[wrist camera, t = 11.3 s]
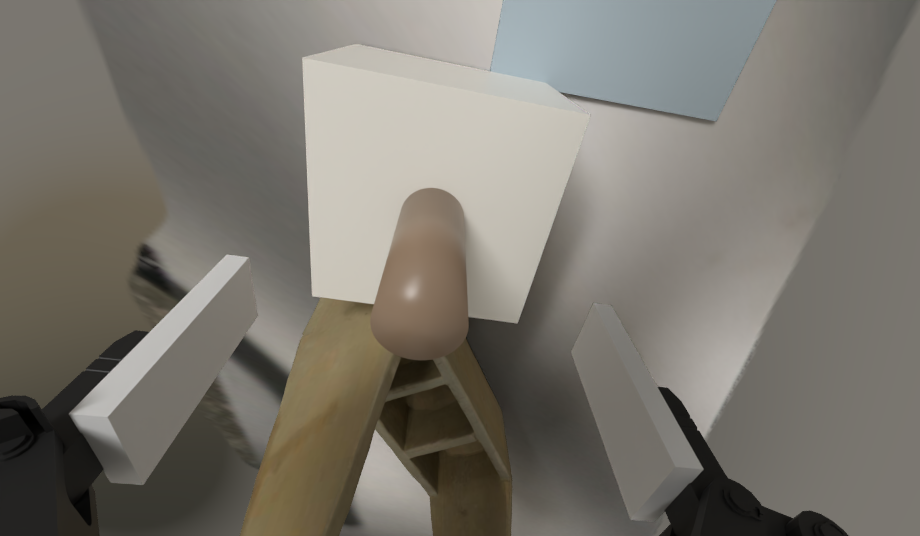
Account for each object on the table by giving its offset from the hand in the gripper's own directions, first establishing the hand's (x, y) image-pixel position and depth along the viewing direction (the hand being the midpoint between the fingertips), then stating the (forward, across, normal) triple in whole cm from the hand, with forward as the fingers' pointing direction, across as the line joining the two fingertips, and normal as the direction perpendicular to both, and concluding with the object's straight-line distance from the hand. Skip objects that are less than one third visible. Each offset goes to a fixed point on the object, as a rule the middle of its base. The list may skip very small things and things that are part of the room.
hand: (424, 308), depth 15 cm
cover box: (+22, 0, -1) cm, 22 cm away
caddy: (+22, +2, -25) cm, 33 cm away
